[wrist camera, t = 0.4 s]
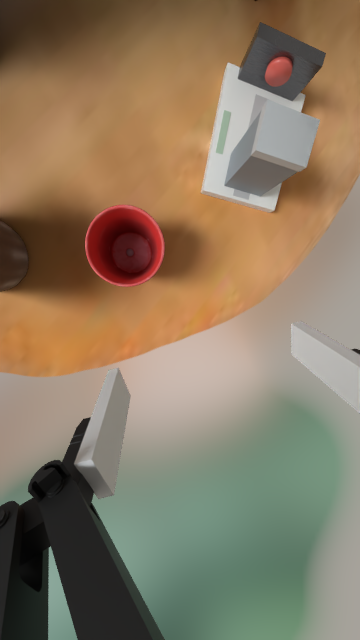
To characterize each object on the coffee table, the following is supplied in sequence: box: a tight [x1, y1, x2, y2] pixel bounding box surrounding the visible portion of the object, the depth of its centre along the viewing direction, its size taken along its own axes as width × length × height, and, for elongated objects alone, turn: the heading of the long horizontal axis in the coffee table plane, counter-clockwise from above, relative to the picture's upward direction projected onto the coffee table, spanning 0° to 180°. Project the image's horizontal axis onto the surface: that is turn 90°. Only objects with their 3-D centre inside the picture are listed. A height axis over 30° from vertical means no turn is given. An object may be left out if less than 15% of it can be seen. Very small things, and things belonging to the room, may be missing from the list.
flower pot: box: [85, 205, 165, 287], centre depth 32 cm, size 11×11×10 cm
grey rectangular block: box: [224, 99, 320, 196], centre depth 30 cm, size 5×7×11 cm
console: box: [201, 22, 326, 213], centre depth 32 cm, size 18×14×8 cm
